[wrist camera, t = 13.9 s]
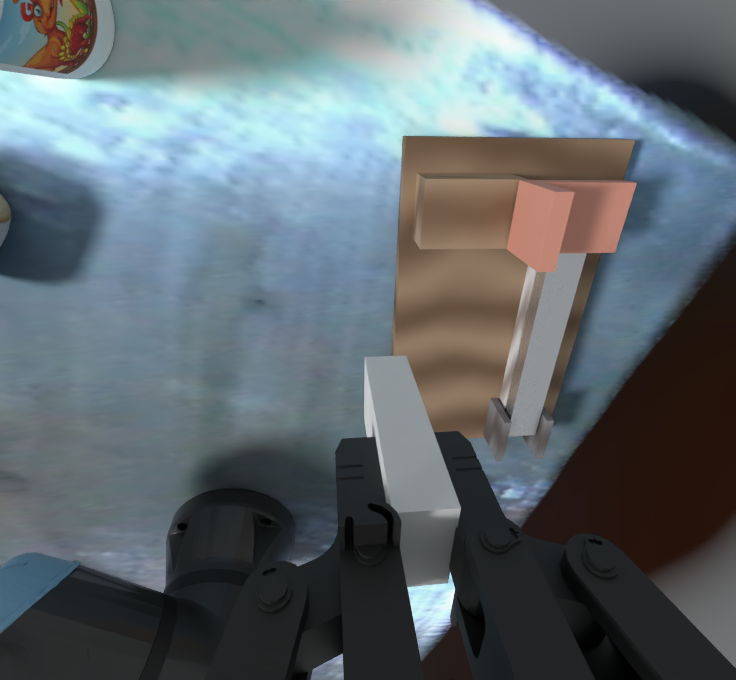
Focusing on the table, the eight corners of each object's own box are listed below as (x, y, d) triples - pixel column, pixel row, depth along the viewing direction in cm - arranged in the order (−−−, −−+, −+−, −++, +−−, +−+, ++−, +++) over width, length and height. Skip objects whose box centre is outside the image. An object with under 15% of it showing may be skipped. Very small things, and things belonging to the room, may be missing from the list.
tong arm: (528, 425, 43) (535, 435, 41) (501, 426, 42) (506, 436, 41) (593, 184, 31) (605, 186, 30) (556, 183, 31) (566, 186, 29)
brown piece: (540, 425, 47) (564, 460, 42) (387, 432, 46) (394, 469, 41) (623, 138, 33) (673, 142, 28) (402, 135, 31) (416, 139, 26)
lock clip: (605, 248, 32) (651, 270, 27) (506, 249, 31) (537, 272, 26) (625, 180, 29) (680, 192, 25) (519, 179, 29) (555, 191, 24)
